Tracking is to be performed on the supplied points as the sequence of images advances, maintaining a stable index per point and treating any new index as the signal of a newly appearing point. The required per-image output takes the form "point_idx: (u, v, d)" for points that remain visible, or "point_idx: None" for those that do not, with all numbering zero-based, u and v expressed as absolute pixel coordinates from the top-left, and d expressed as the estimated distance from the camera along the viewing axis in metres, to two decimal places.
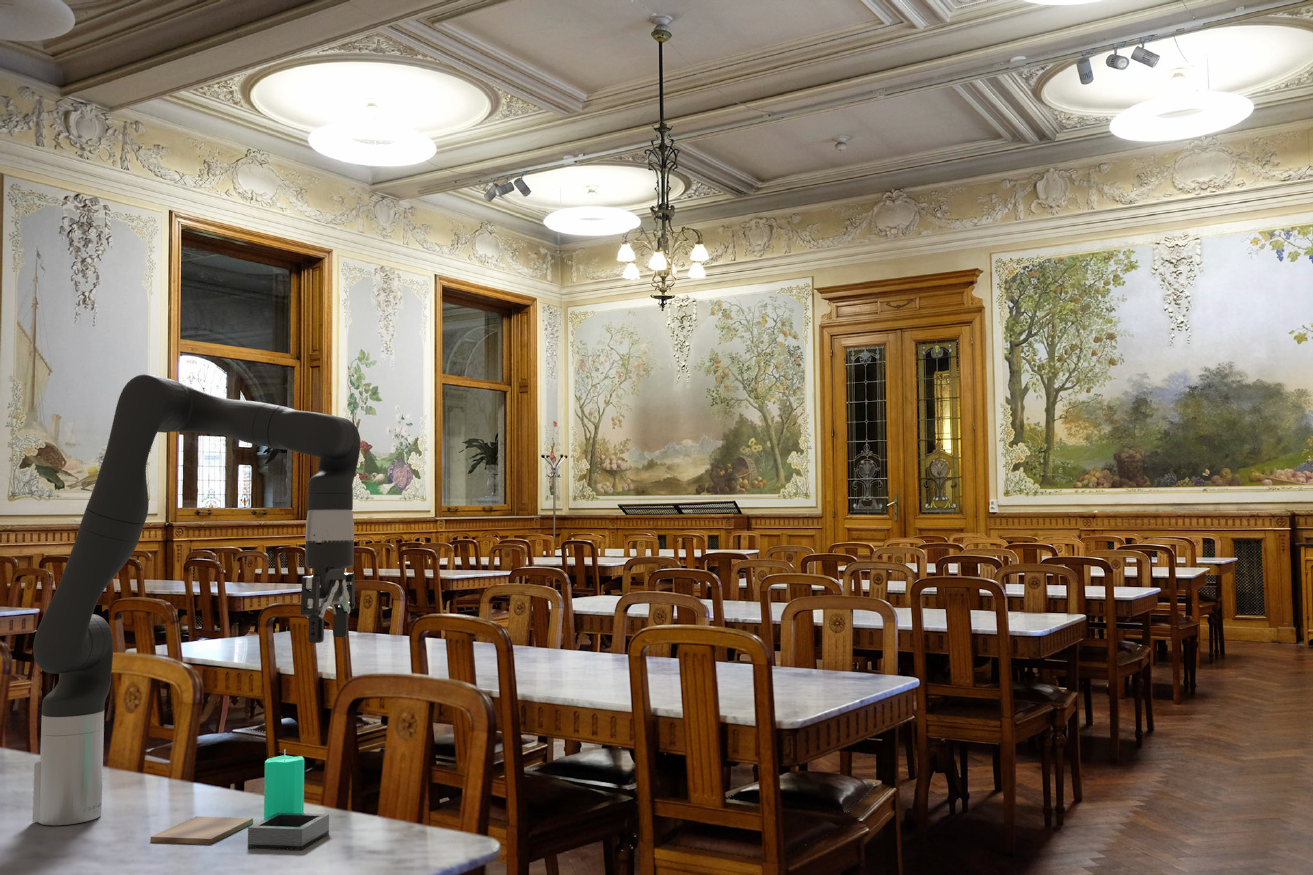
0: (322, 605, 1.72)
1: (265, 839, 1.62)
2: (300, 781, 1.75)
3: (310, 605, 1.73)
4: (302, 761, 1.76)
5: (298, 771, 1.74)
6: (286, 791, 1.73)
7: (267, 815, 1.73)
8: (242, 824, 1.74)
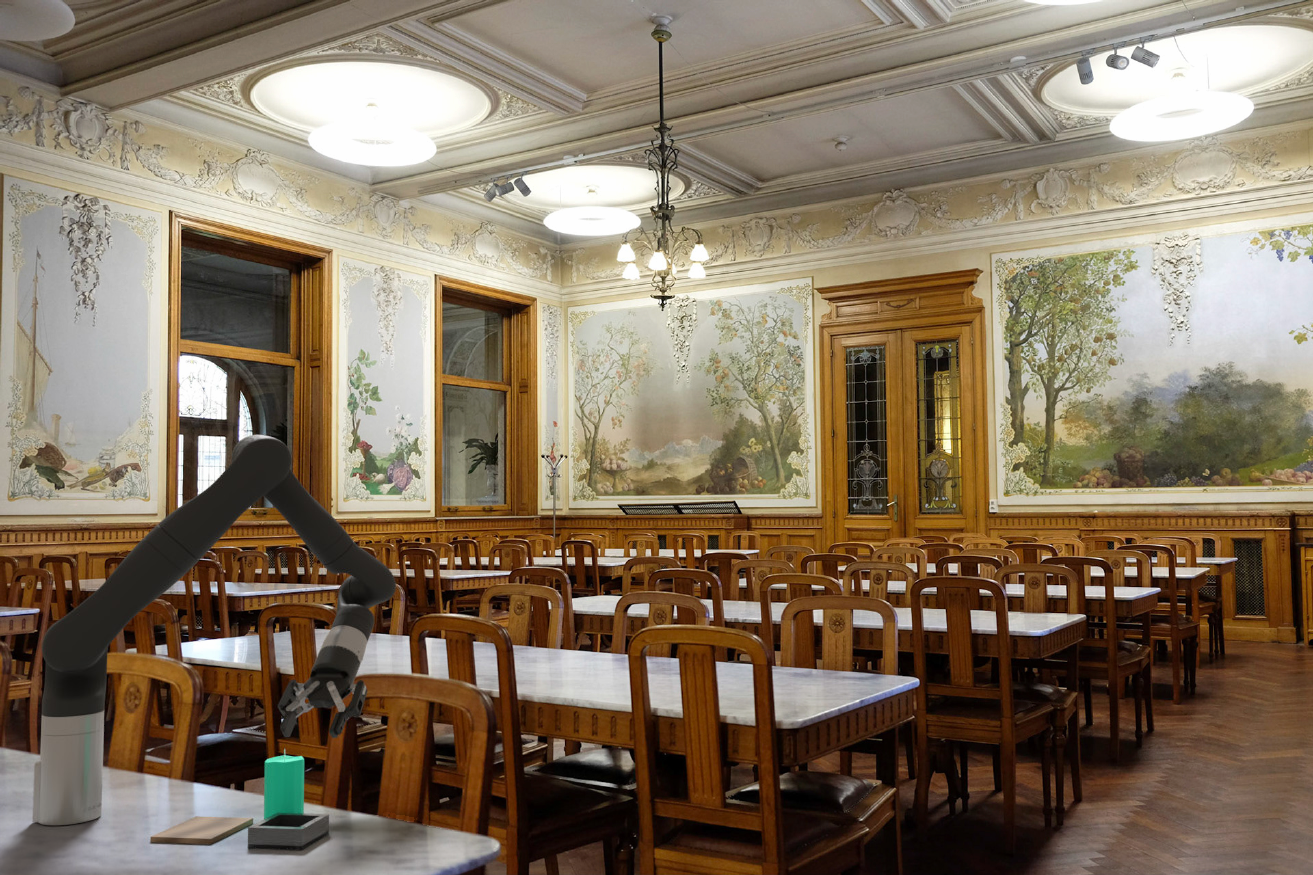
0: None
1: (265, 839, 1.62)
2: (300, 781, 1.75)
3: (343, 703, 1.86)
4: (302, 761, 1.76)
5: (298, 771, 1.74)
6: (286, 791, 1.73)
7: (267, 815, 1.73)
8: (242, 824, 1.74)
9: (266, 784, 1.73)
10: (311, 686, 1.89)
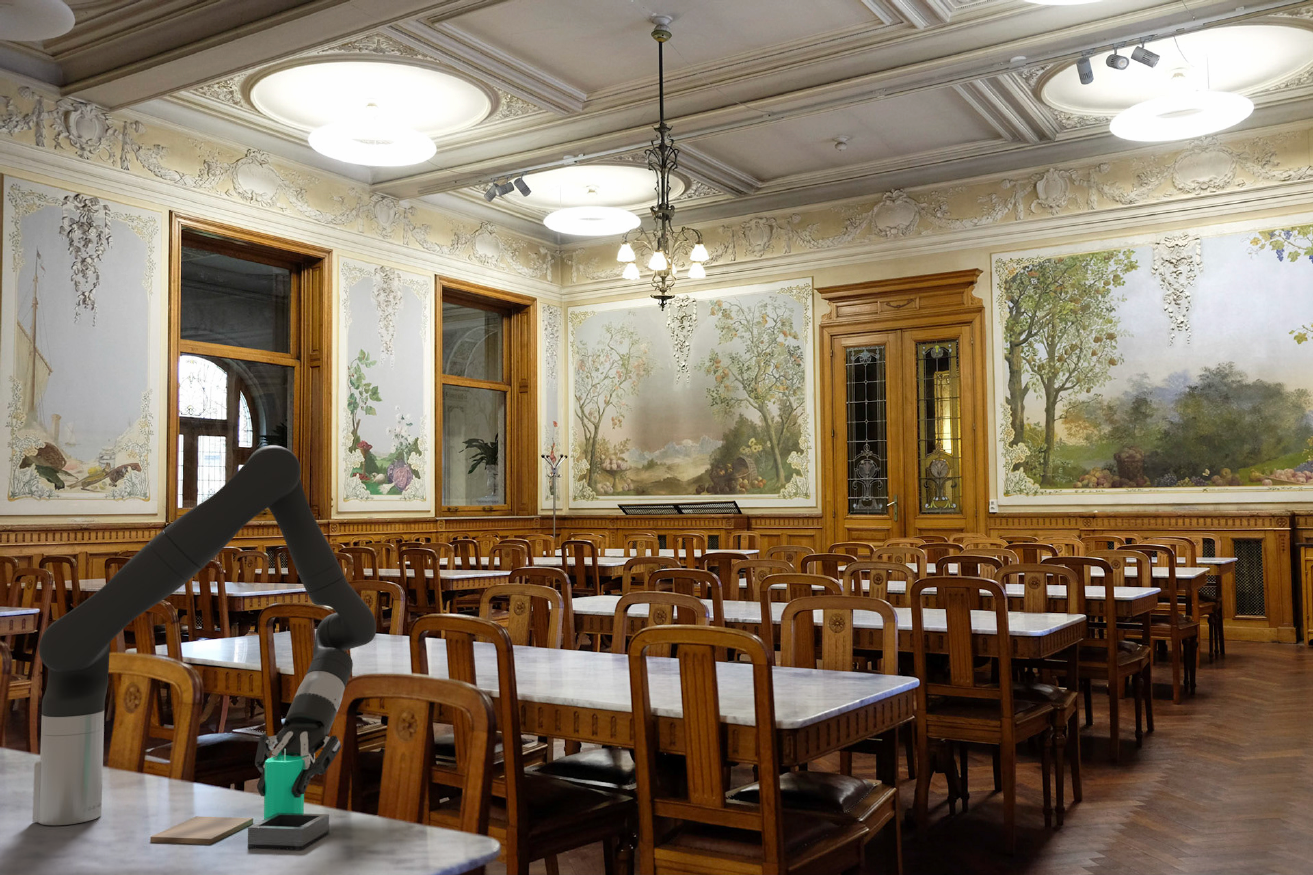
0: None
1: (265, 839, 1.62)
2: None
3: (309, 759, 1.76)
4: (302, 761, 1.76)
5: (298, 771, 1.74)
6: (286, 791, 1.73)
7: (267, 815, 1.73)
8: (242, 824, 1.74)
9: (266, 784, 1.73)
10: (285, 738, 1.79)
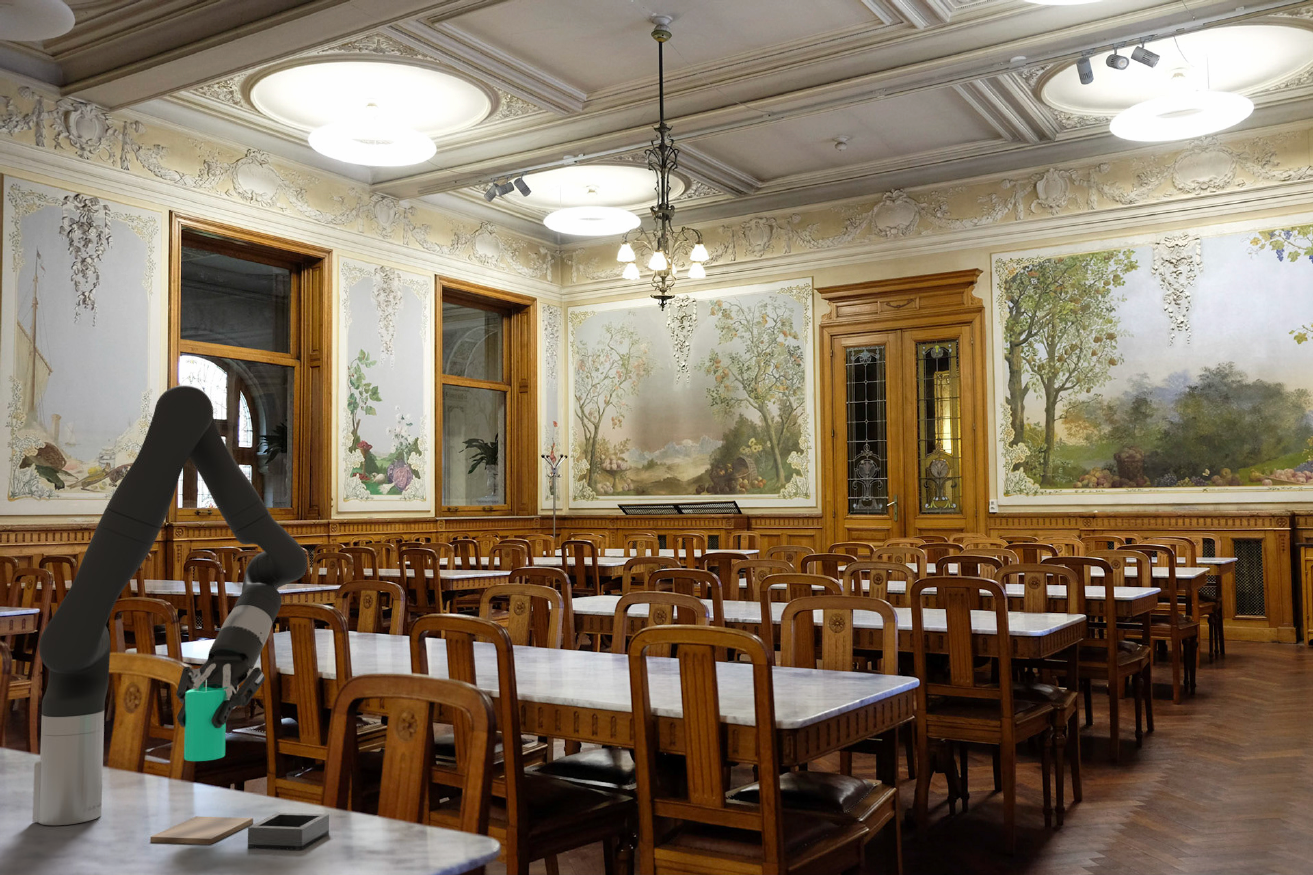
0: None
1: (265, 839, 1.62)
2: None
3: (231, 690, 1.74)
4: (223, 692, 1.73)
5: (219, 702, 1.72)
6: (206, 721, 1.71)
7: (187, 745, 1.71)
8: (242, 824, 1.74)
9: (186, 714, 1.71)
10: (207, 670, 1.77)
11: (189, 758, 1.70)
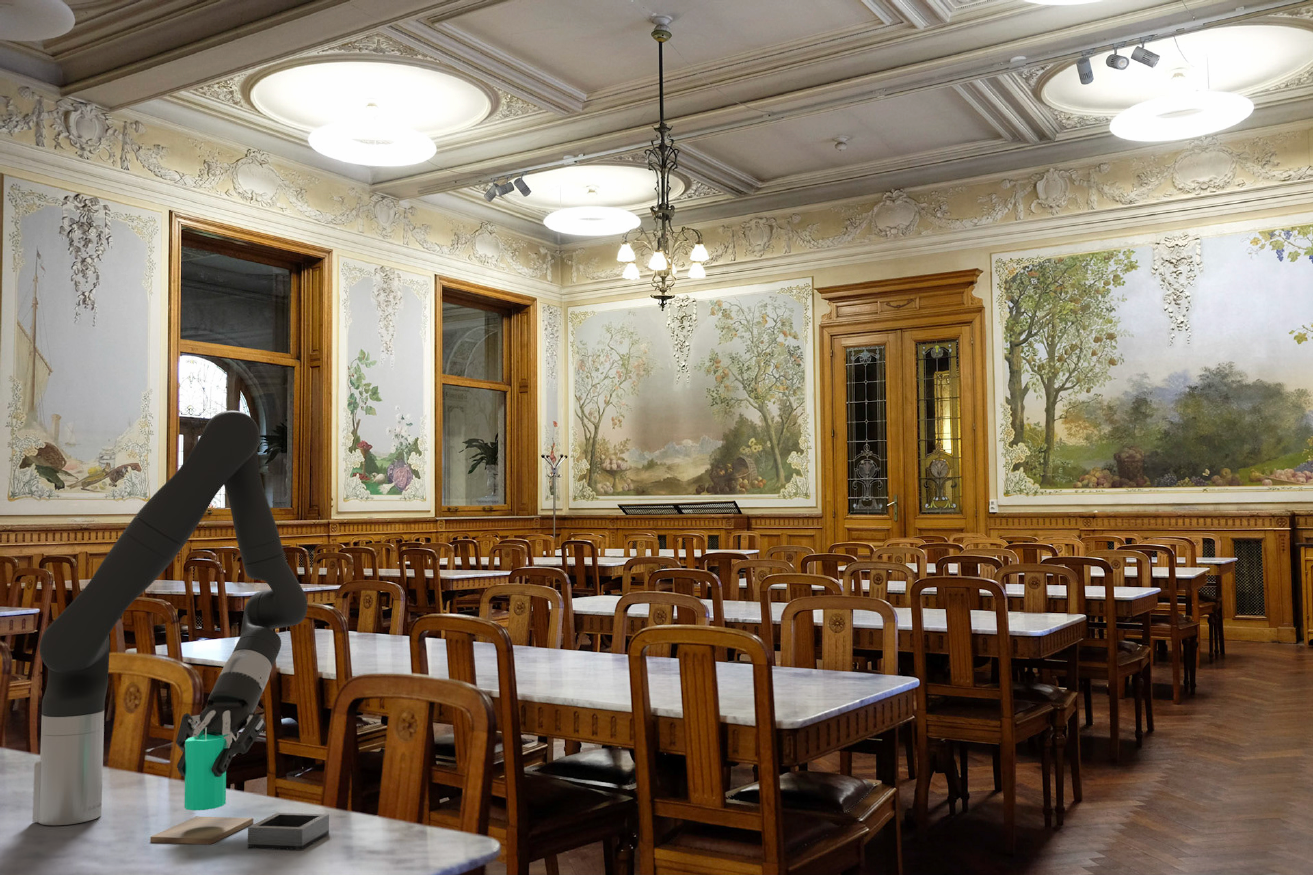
0: None
1: (265, 839, 1.62)
2: None
3: (231, 738, 1.74)
4: (223, 740, 1.73)
5: (219, 750, 1.72)
6: (206, 770, 1.70)
7: (187, 794, 1.70)
8: (242, 824, 1.74)
9: (186, 763, 1.71)
10: (207, 717, 1.76)
11: (189, 807, 1.70)
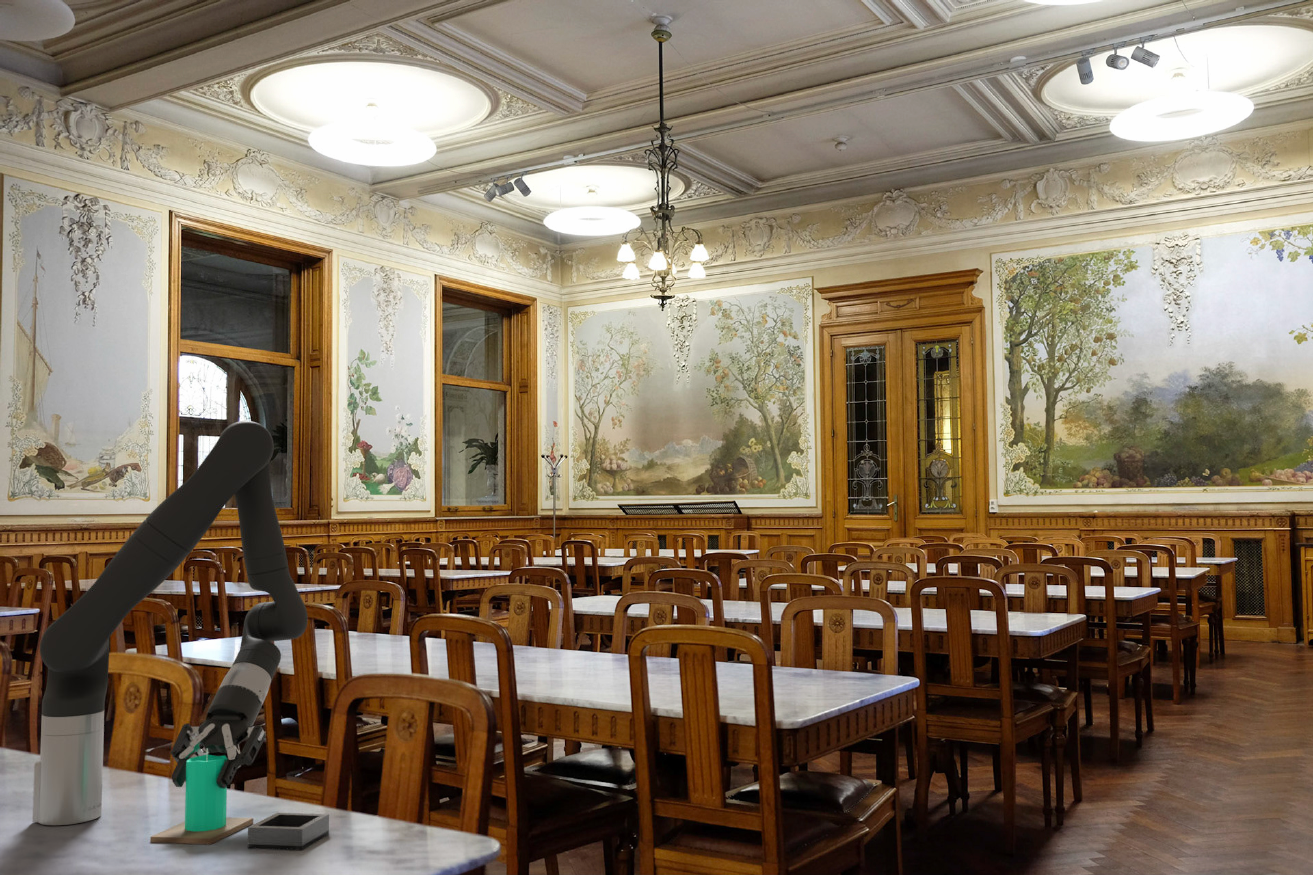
0: None
1: (265, 839, 1.62)
2: None
3: (235, 749, 1.74)
4: (224, 760, 1.73)
5: (220, 770, 1.72)
6: (207, 791, 1.70)
7: (188, 815, 1.70)
8: (242, 824, 1.74)
9: (187, 784, 1.71)
10: (205, 730, 1.76)
11: (190, 828, 1.70)
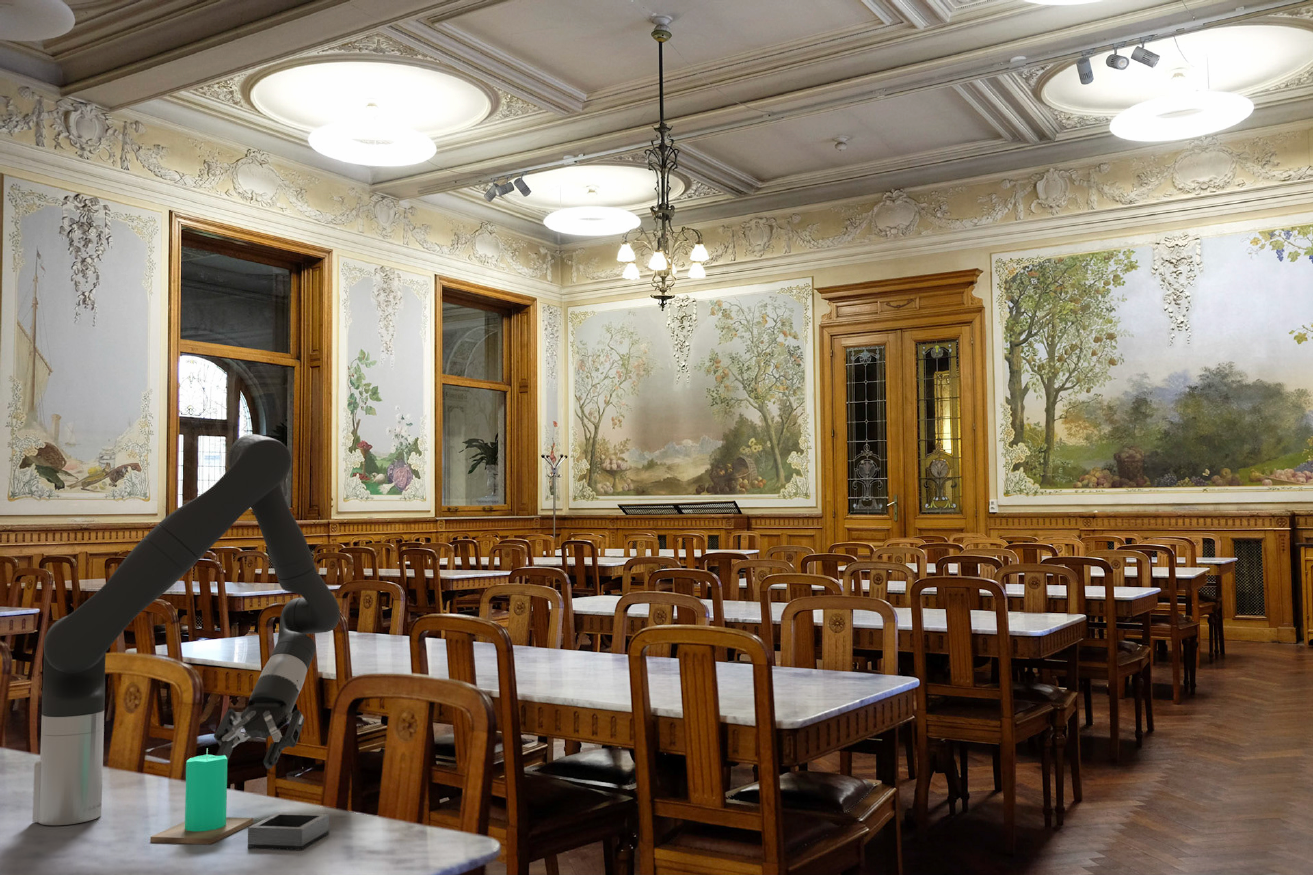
0: None
1: (265, 839, 1.62)
2: (222, 781, 1.72)
3: (278, 733, 1.86)
4: (224, 760, 1.73)
5: (220, 770, 1.72)
6: (207, 791, 1.70)
7: (188, 815, 1.70)
8: (242, 824, 1.74)
9: (187, 784, 1.71)
10: (248, 716, 1.89)
11: (190, 828, 1.70)
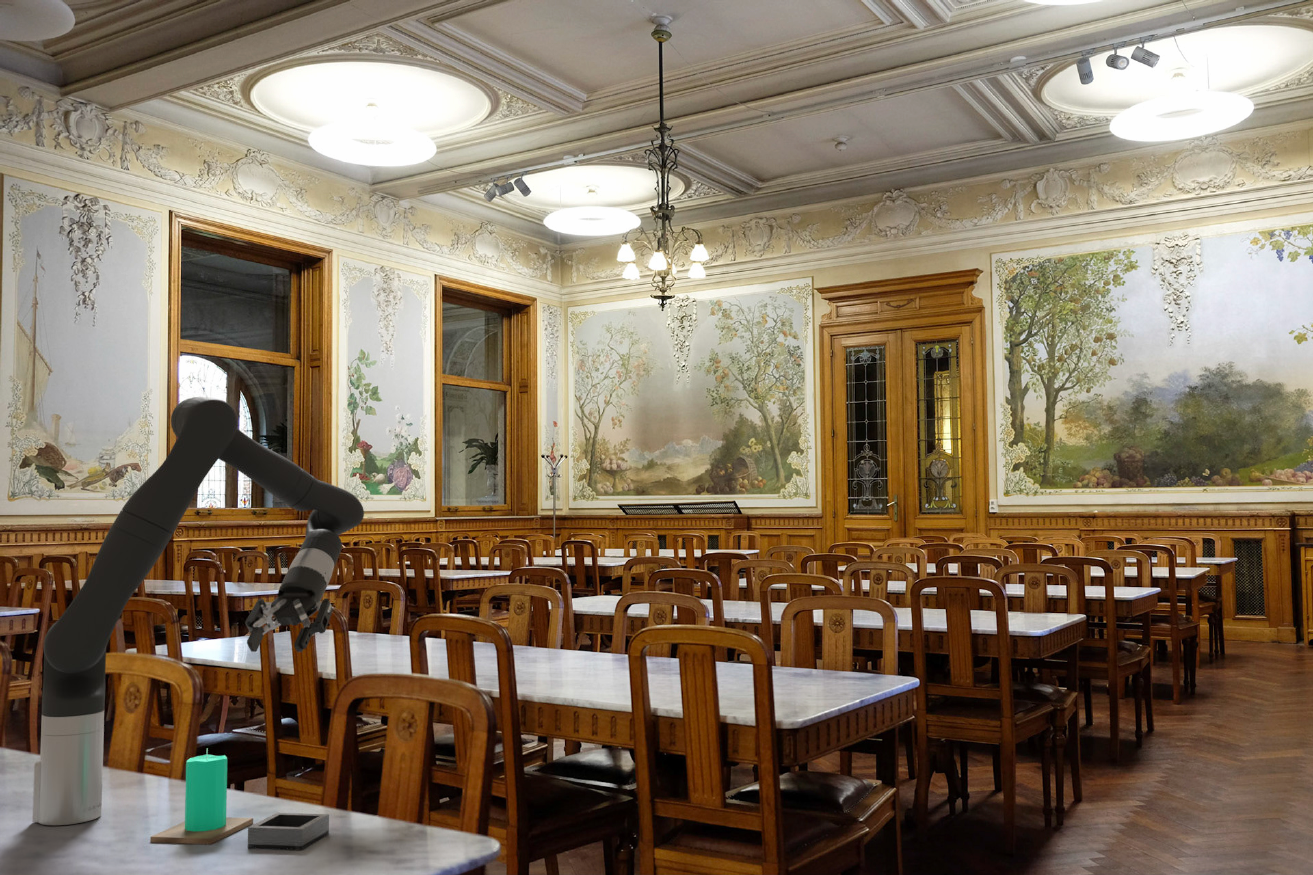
0: None
1: (265, 839, 1.62)
2: (222, 781, 1.72)
3: (308, 619, 1.92)
4: (224, 760, 1.73)
5: (220, 770, 1.72)
6: (207, 791, 1.70)
7: (188, 815, 1.70)
8: (242, 824, 1.74)
9: (187, 784, 1.71)
10: (278, 604, 1.94)
11: (190, 828, 1.70)
